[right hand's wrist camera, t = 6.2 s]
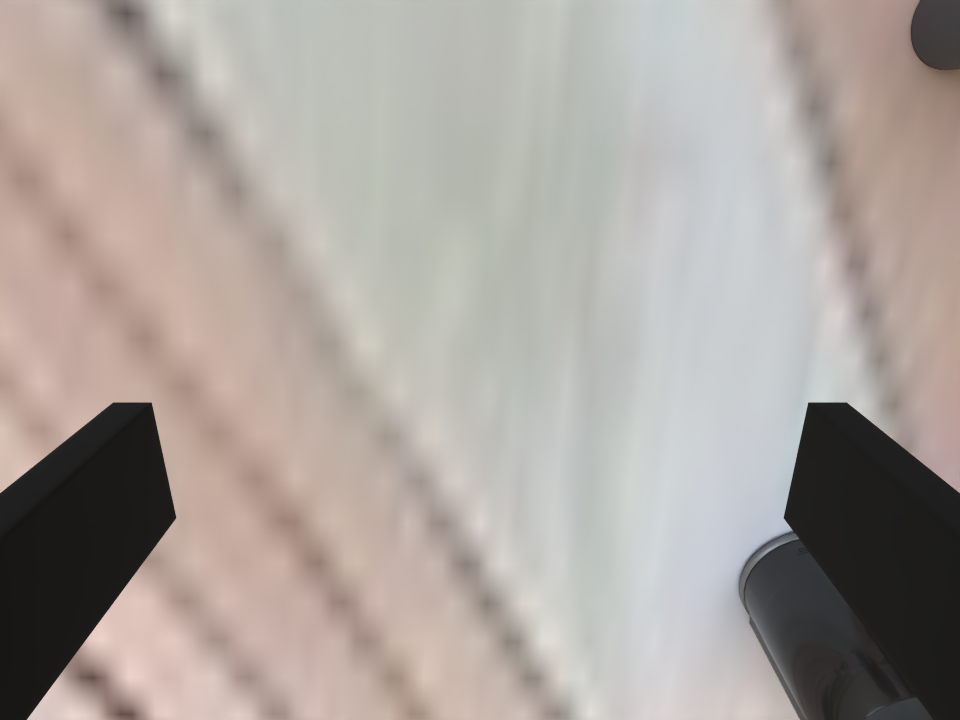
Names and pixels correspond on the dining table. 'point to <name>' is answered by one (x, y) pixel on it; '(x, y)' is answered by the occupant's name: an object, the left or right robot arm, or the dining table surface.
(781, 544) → the left robot arm
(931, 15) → the jar
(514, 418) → the dining table surface
